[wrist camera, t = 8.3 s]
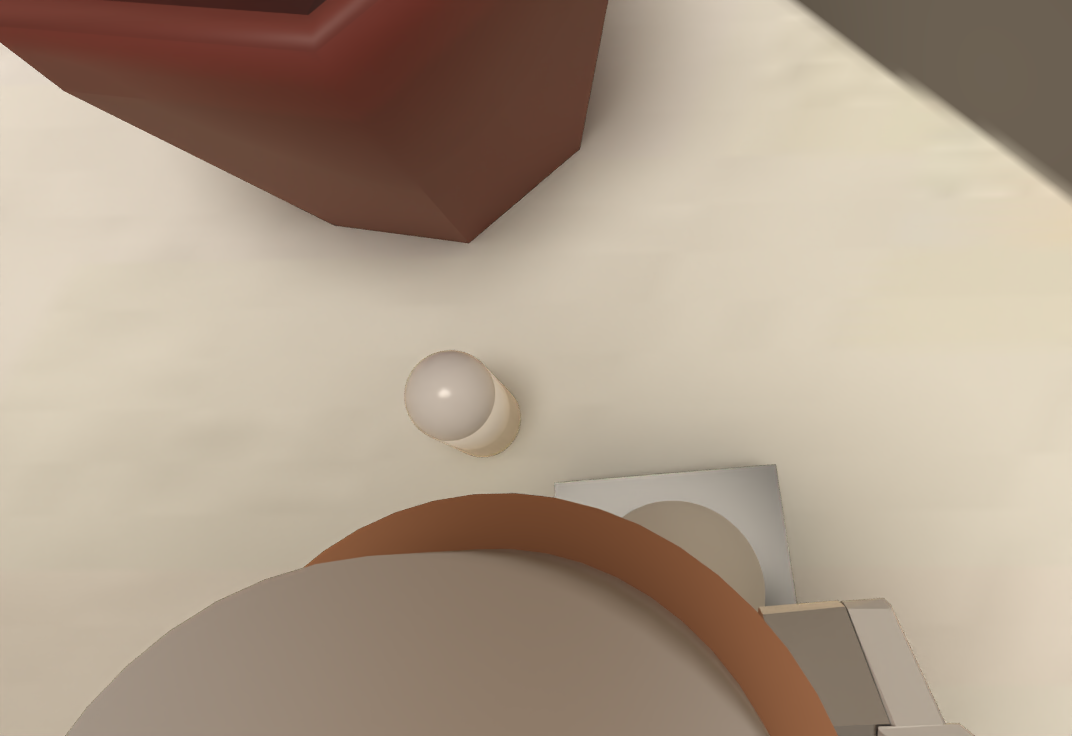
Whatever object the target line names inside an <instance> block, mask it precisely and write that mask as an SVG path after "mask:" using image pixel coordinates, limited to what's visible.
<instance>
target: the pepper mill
mask: <svg viewBox="0 0 1072 736" xmlns="http://www.w3.org/2000/svg"><path fill="white" fill-rule="evenodd" d="M65 736H838V735H837V733H836V731H835V729H834V727H833V725H832V723H831V721H830V719H829V717H828V715H827V713H826V710H825V708H824V706H823V704H822V702H821V700H820V698H819V696H818V694H817V693H816V691H815V690H814V688H813V687H812V685H811V684H810V682H809V680H808V679H807V677H806V676H805V674H804V673H803V671H802V670H801V668H800V667H799V665H798V664H797V662H796V661H795V659H794V657H793V656H792V654H791V653H790V651H789V650H788V648H787V647H786V646H785V645H784V644H783V642H782V641H781V640H780V639H779V638H778V636H777V635H776V634H775V633H774V632H773V630H772V629H771V628H770V627H769V626H768V625H767V623H766V622H765V621H764V620H763V619H762V617H761V616H760V615H759V614H758V613H757V611H756V610H755V609H754V608H753V607H752V606H751V605H750V604H749V603H748V602H746V601H745V600H744V599H743V598H742V597H741V596H740V595H739V594H738V593H737V592H736V591H735V590H734V589H733V588H732V587H731V586H729V585H728V584H727V583H726V582H725V581H724V580H723V579H722V578H721V577H720V576H719V575H718V574H716V573H715V572H713V571H712V570H711V569H709V568H708V567H707V566H705V565H704V564H702V563H701V562H700V561H698V560H697V559H696V558H694V557H693V556H692V555H690V554H689V553H687V552H686V551H685V550H683V549H682V548H681V547H679V546H677V545H675V544H674V543H672V542H670V541H668V540H666V539H665V538H663V537H661V536H659V535H657V534H656V533H654V532H652V531H650V530H648V529H647V528H645V527H643V526H641V525H639V524H637V523H634V522H631V521H629V520H626V519H624V518H621V517H619V516H616V515H614V514H611V513H609V512H606V511H604V510H601V509H599V508H595V507H591V506H587V505H583V504H579V503H575V502H571V501H567V500H563V499H559V498H552V497H543V496H534V495H525V494H516V493H509V494H473V495H467V496H461V497H455V498H448V499H442V500H436V501H432V502H428V503H425V504H422V505H419V506H415V507H412V508H409V509H405V510H402V511H399V512H396V513H393V514H391V515H389V516H387V517H384V518H382V519H380V520H378V521H376V522H374V523H371V524H369V525H367V526H365V527H363V528H360V529H358V530H357V531H355V532H353V533H352V534H350V535H349V536H347V537H345V538H344V539H342V540H341V541H339V542H337V543H336V544H334V545H333V546H331V547H329V548H328V549H326V550H325V551H323V552H322V553H321V554H320V555H318V556H317V557H316V558H315V559H313V560H312V561H311V562H310V563H309V564H307V565H306V566H305V567H304V568H301V569H298V570H295V571H291V572H288V573H285V574H281V575H278V576H275V577H271V578H268V579H265V580H262V581H260V582H258V583H256V584H254V585H252V586H249V587H247V588H245V589H243V590H241V591H238V592H236V593H234V594H232V595H230V596H227V597H225V598H223V599H221V600H219V601H216V602H215V603H213V604H212V605H210V606H208V607H207V608H205V609H204V610H202V611H200V612H199V613H197V614H196V615H194V616H192V617H191V618H189V619H188V620H186V621H184V622H183V623H181V624H180V625H178V626H176V627H175V628H173V629H172V630H170V631H169V632H168V633H166V634H165V635H164V636H163V637H162V638H160V639H159V640H158V641H157V642H155V643H154V644H153V645H152V646H150V647H149V648H148V649H147V650H146V651H144V652H143V653H142V654H141V655H139V656H138V657H137V658H136V659H135V660H133V661H132V662H131V663H130V664H128V665H127V666H126V667H125V668H124V669H123V670H122V671H121V672H120V673H119V675H118V676H117V677H116V678H115V679H114V680H113V681H112V682H111V683H110V684H109V685H108V686H107V687H106V688H105V689H104V690H103V691H102V692H101V693H100V694H99V695H98V696H97V697H96V698H95V699H94V701H93V702H92V703H91V704H90V705H89V706H88V707H87V708H86V709H85V711H84V712H83V713H82V714H81V716H80V717H79V718H78V720H77V721H76V722H75V724H74V725H73V726H72V728H71V729H70V730H69V731H68V733H67V734H66V735H65Z"/></svg>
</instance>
